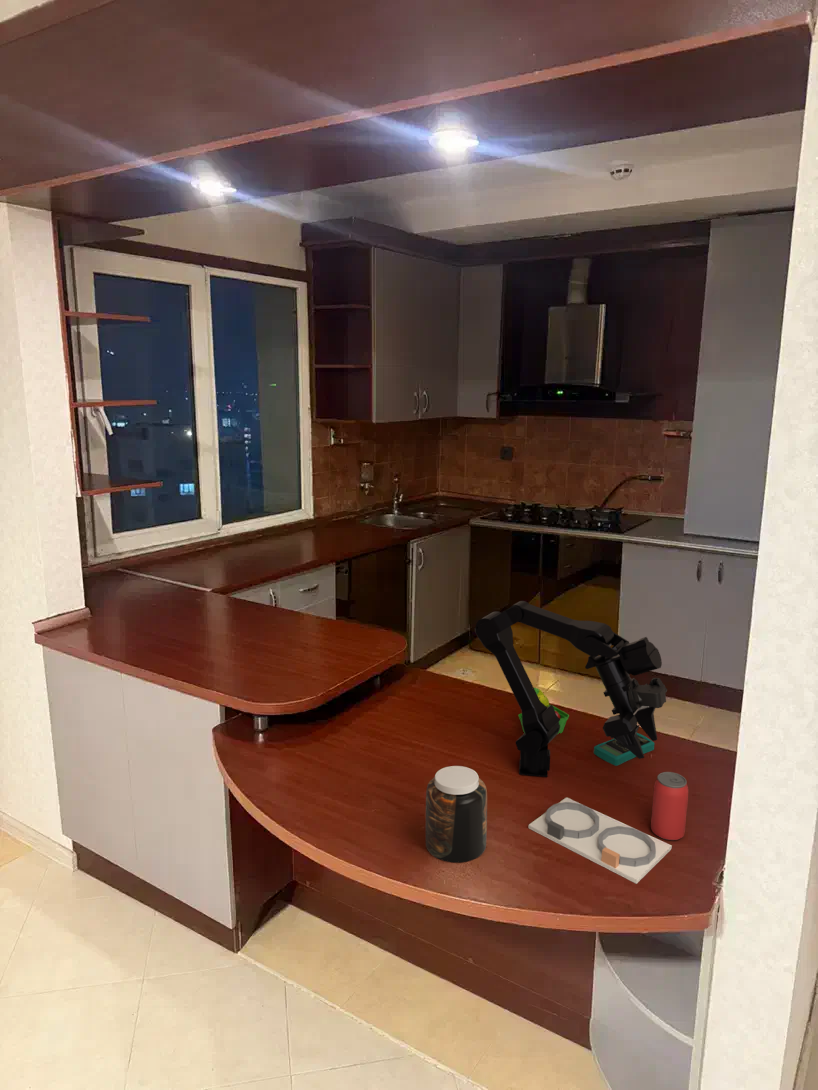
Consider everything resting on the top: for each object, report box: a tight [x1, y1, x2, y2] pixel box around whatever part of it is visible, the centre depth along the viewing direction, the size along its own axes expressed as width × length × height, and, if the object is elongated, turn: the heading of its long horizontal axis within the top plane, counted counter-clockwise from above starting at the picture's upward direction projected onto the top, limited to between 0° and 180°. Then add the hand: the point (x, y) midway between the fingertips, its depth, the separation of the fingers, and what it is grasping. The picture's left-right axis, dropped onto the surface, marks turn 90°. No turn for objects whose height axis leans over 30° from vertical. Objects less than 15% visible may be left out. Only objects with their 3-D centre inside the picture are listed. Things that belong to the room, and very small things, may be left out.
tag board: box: [528, 797, 673, 885], centre depth 148 cm, size 24×14×3 cm, turn 45°
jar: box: [425, 765, 488, 864], centre depth 145 cm, size 12×12×15 cm
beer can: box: [650, 771, 689, 841], centre depth 149 cm, size 7×7×12 cm
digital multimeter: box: [593, 732, 656, 767], centre depth 182 cm, size 7×15×3 cm, turn 124°
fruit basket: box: [517, 687, 570, 735], centre depth 191 cm, size 11×9×11 cm
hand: (648, 749), depth 157 cm, fingers open, 9 cm apart
